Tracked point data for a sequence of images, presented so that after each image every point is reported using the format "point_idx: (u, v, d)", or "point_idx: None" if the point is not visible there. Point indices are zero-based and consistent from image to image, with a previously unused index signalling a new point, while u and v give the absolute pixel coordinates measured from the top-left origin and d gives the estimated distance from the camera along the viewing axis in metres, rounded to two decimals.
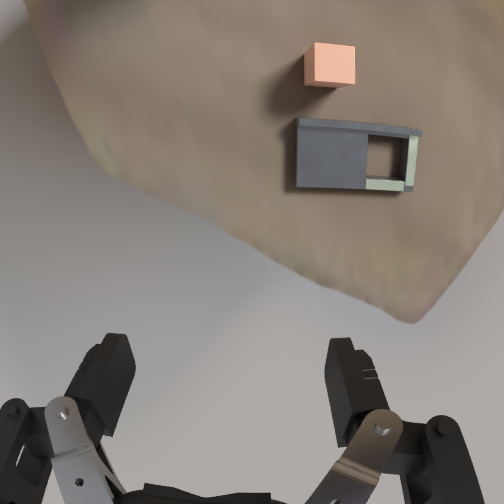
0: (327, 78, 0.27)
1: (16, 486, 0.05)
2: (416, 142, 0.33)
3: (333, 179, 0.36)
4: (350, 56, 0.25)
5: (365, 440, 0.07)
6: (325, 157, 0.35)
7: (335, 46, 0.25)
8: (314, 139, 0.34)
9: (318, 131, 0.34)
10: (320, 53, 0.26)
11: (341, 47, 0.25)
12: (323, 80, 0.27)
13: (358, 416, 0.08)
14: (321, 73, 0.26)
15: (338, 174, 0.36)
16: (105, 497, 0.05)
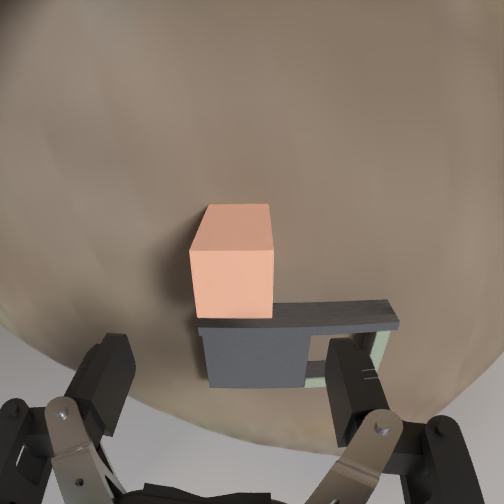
0: (220, 313, 0.17)
1: (16, 486, 0.05)
2: (389, 331, 0.24)
3: (258, 381, 0.26)
4: (264, 271, 0.16)
5: (365, 440, 0.07)
6: (245, 361, 0.25)
7: (232, 255, 0.15)
8: (227, 343, 0.24)
9: None
10: (202, 271, 0.16)
11: (245, 255, 0.15)
12: (212, 315, 0.17)
13: (358, 416, 0.08)
14: (207, 306, 0.17)
15: (265, 376, 0.26)
16: (105, 497, 0.05)
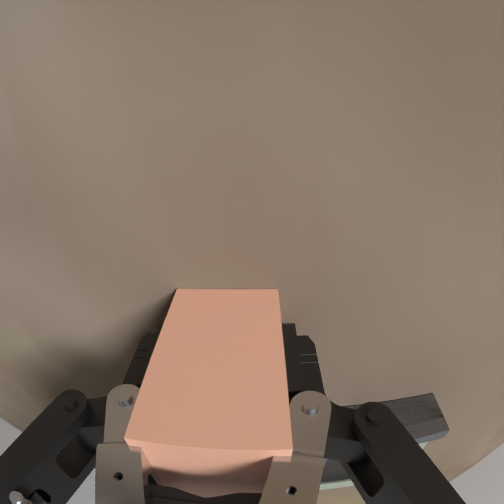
0: None
1: (50, 476, 0.06)
2: None
3: None
4: None
5: None
6: None
7: (207, 453, 0.06)
8: None
9: None
10: (156, 462, 0.07)
11: (234, 454, 0.06)
12: None
13: (290, 396, 0.09)
14: None
15: None
16: (139, 498, 0.05)
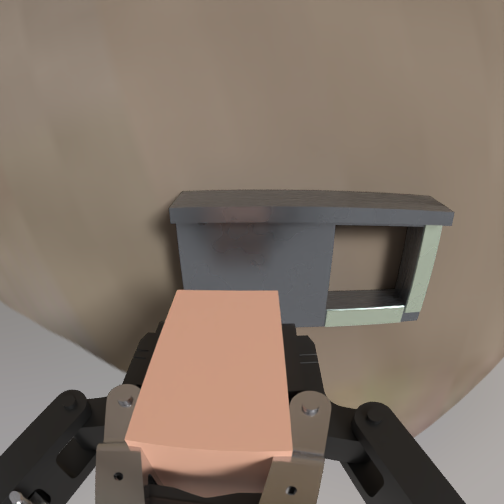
0: None
1: (50, 476, 0.06)
2: (439, 233, 0.16)
3: None
4: None
5: None
6: (239, 277, 0.18)
7: (208, 454, 0.06)
8: (213, 243, 0.17)
9: (220, 227, 0.16)
10: (157, 463, 0.07)
11: (234, 455, 0.06)
12: None
13: (290, 397, 0.09)
14: None
15: None
16: (139, 498, 0.05)
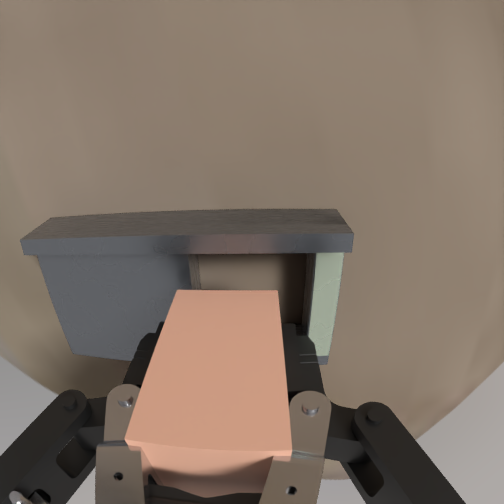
0: None
1: (50, 476, 0.06)
2: (340, 261, 0.13)
3: (130, 348, 0.16)
4: None
5: None
6: (101, 309, 0.15)
7: (207, 454, 0.06)
8: (69, 274, 0.14)
9: (71, 257, 0.14)
10: (156, 462, 0.07)
11: (233, 455, 0.06)
12: None
13: (290, 397, 0.09)
14: None
15: (137, 340, 0.16)
16: (139, 498, 0.05)
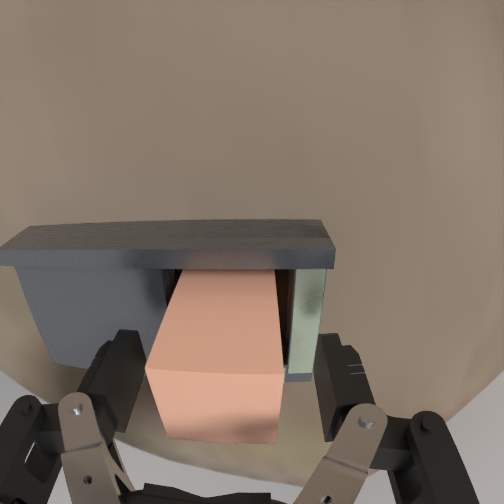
0: (200, 437, 0.10)
1: (23, 483, 0.05)
2: (323, 277, 0.13)
3: None
4: (266, 398, 0.09)
5: (348, 434, 0.07)
6: (78, 320, 0.14)
7: (214, 378, 0.09)
8: (46, 285, 0.13)
9: (47, 268, 0.13)
10: (169, 394, 0.09)
11: (236, 379, 0.09)
12: (190, 437, 0.10)
13: (343, 410, 0.08)
14: (181, 429, 0.10)
15: None
16: (113, 496, 0.05)
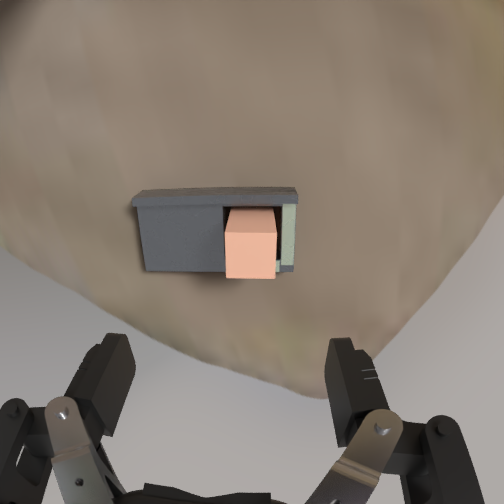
0: (241, 275, 0.26)
1: (16, 486, 0.05)
2: (294, 210, 0.29)
3: (185, 262, 0.31)
4: (270, 246, 0.25)
5: (365, 440, 0.07)
6: (172, 238, 0.30)
7: (251, 235, 0.25)
8: (156, 218, 0.30)
9: (159, 208, 0.29)
10: (232, 246, 0.25)
11: (259, 235, 0.25)
12: (236, 276, 0.26)
13: (358, 416, 0.08)
14: (233, 269, 0.26)
15: (190, 256, 0.31)
16: (105, 497, 0.05)
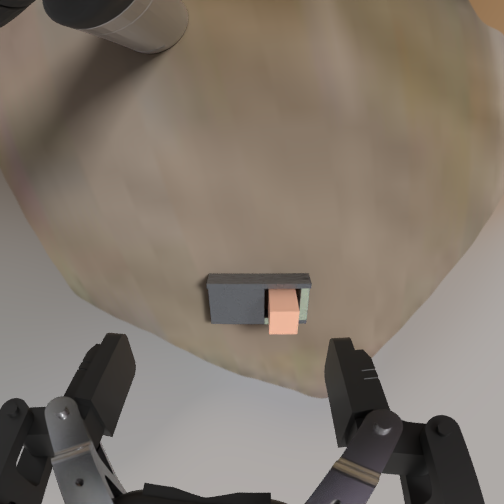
0: (278, 332, 0.44)
1: (16, 486, 0.05)
2: (308, 290, 0.47)
3: (238, 319, 0.49)
4: (295, 318, 0.43)
5: (365, 440, 0.07)
6: (230, 305, 0.48)
7: (285, 312, 0.43)
8: (221, 294, 0.48)
9: (223, 288, 0.47)
10: (274, 318, 0.43)
11: (289, 313, 0.43)
12: (275, 333, 0.45)
13: (358, 416, 0.08)
14: (273, 329, 0.44)
15: (242, 315, 0.49)
16: (105, 497, 0.05)
